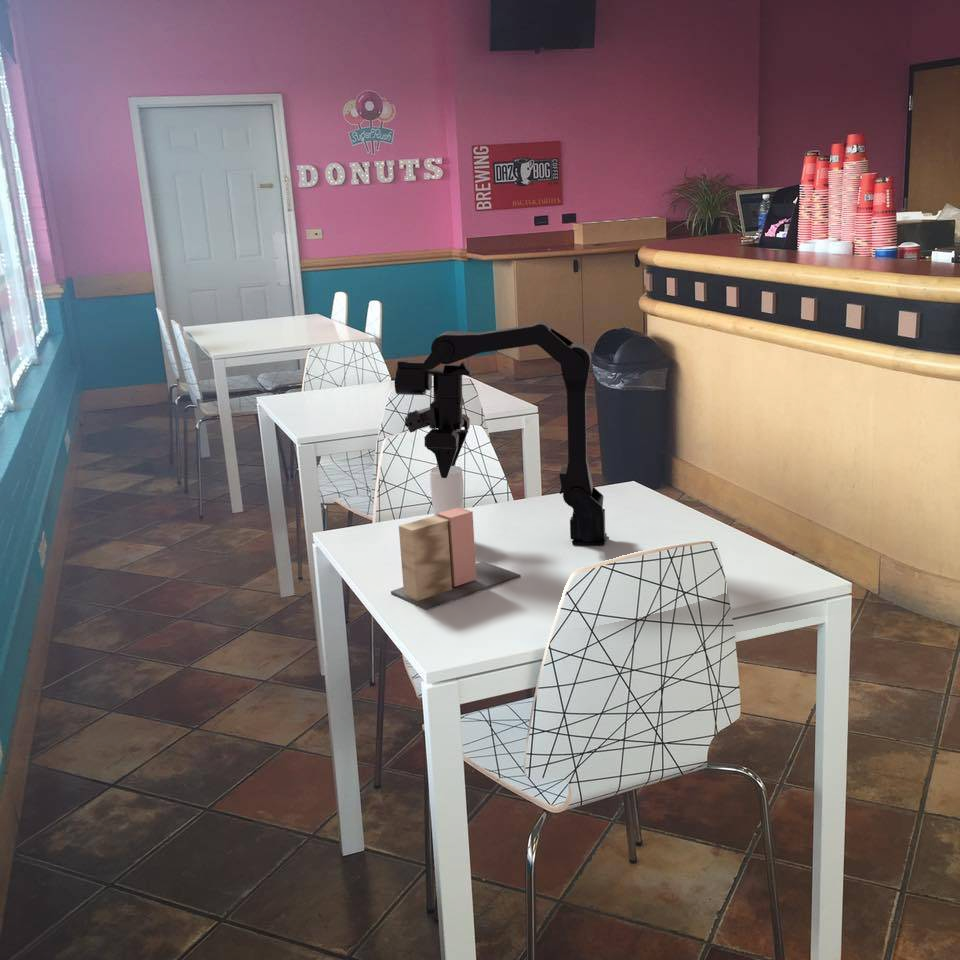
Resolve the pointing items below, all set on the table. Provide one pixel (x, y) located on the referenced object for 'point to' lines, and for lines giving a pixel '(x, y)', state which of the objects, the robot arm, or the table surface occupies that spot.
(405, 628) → the table surface
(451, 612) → the table surface
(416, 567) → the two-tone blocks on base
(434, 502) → the drinking glass
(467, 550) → the stub
